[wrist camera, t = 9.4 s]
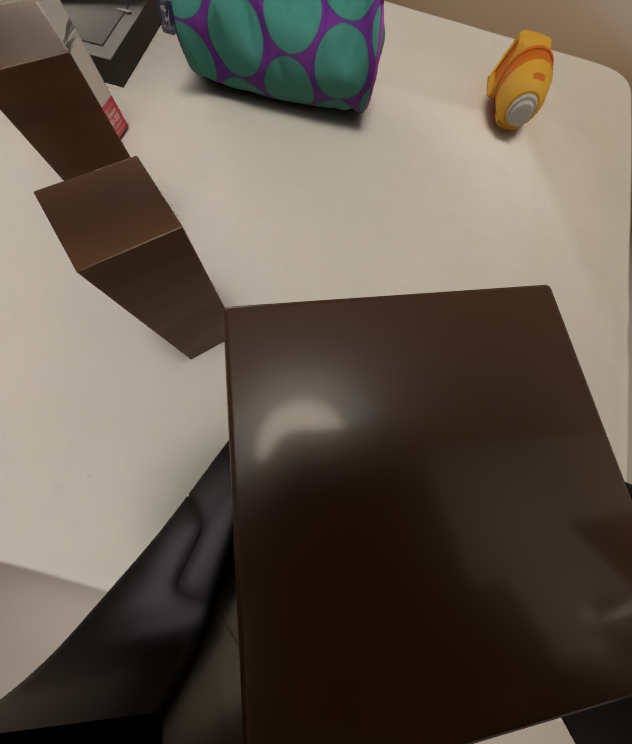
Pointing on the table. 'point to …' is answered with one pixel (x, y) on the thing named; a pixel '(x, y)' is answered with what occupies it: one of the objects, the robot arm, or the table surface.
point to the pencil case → (283, 46)
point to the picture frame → (114, 33)
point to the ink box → (81, 59)
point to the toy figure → (521, 79)
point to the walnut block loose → (421, 520)
